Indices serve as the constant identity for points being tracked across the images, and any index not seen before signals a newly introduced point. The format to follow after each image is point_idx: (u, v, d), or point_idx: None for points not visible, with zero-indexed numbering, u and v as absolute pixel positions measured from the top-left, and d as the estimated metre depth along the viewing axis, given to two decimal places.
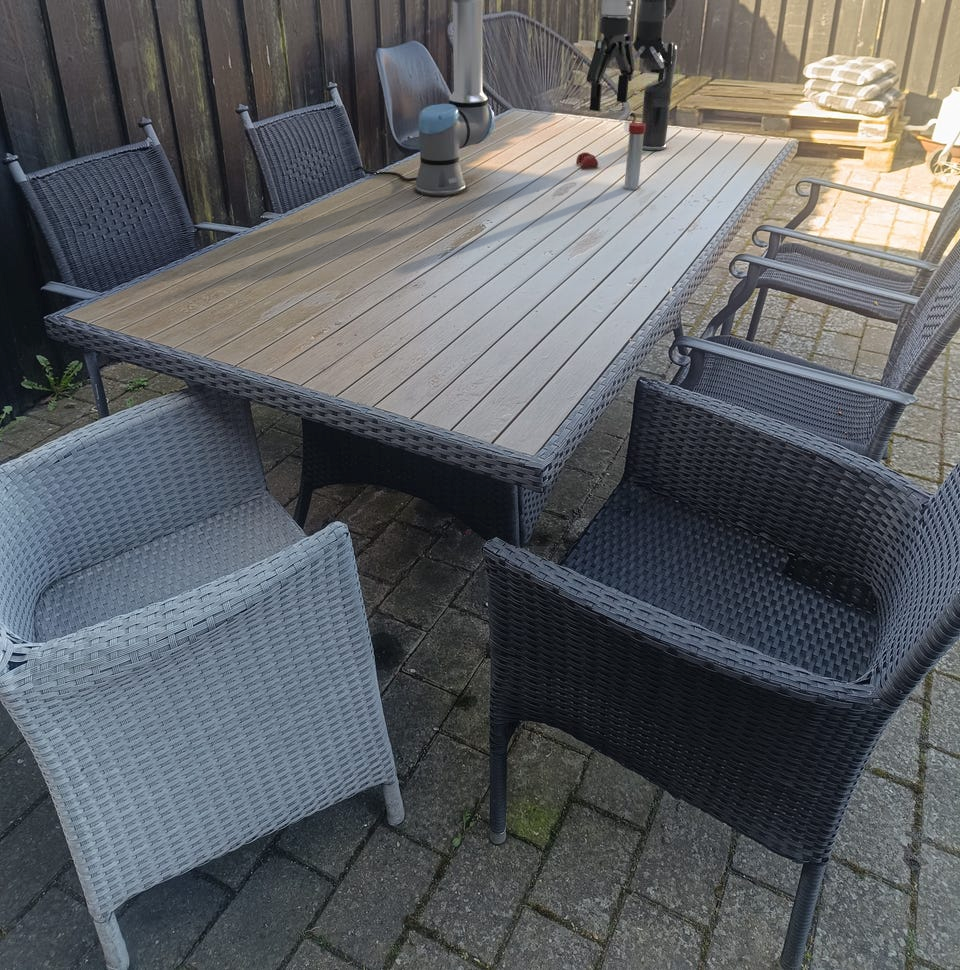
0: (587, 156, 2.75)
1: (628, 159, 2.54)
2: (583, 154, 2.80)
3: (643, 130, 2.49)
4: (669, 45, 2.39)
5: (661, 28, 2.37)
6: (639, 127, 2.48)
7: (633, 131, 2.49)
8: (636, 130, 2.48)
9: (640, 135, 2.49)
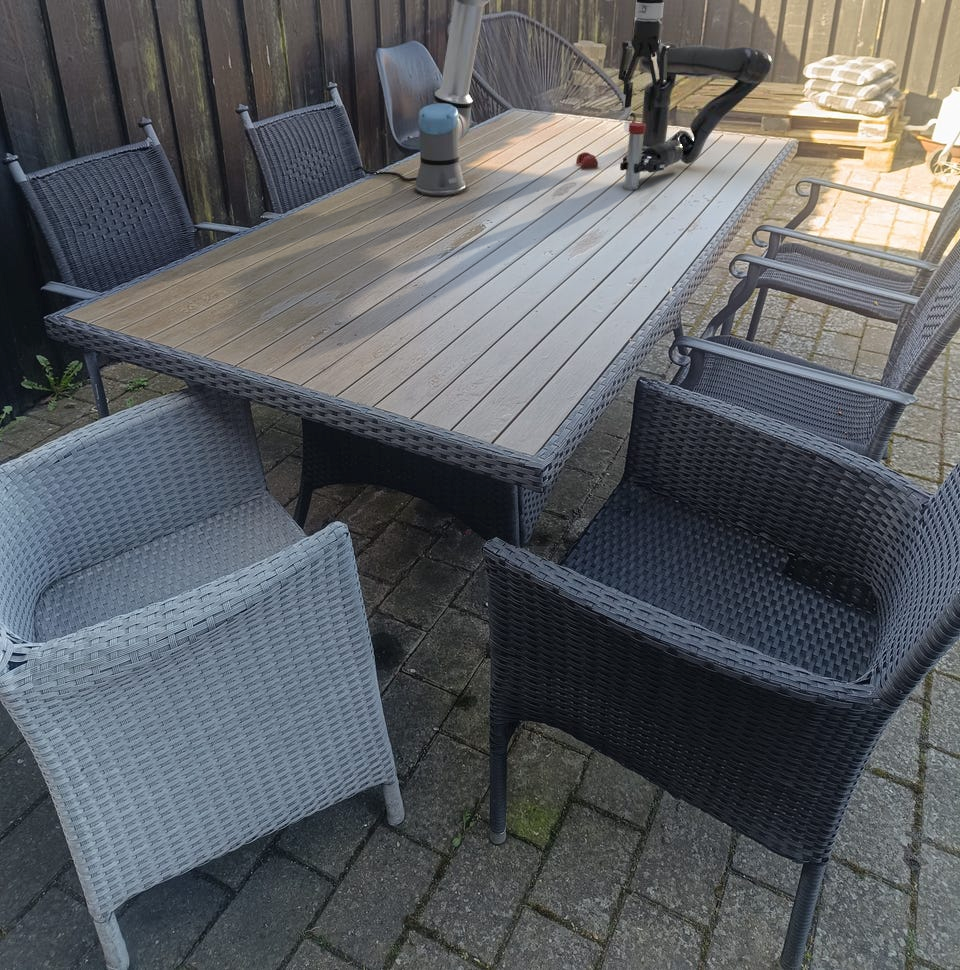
0: (587, 156, 2.75)
1: (628, 159, 2.54)
2: (583, 154, 2.80)
3: (643, 130, 2.49)
4: None
5: None
6: (639, 127, 2.48)
7: (633, 131, 2.49)
8: (636, 130, 2.48)
9: (640, 135, 2.49)
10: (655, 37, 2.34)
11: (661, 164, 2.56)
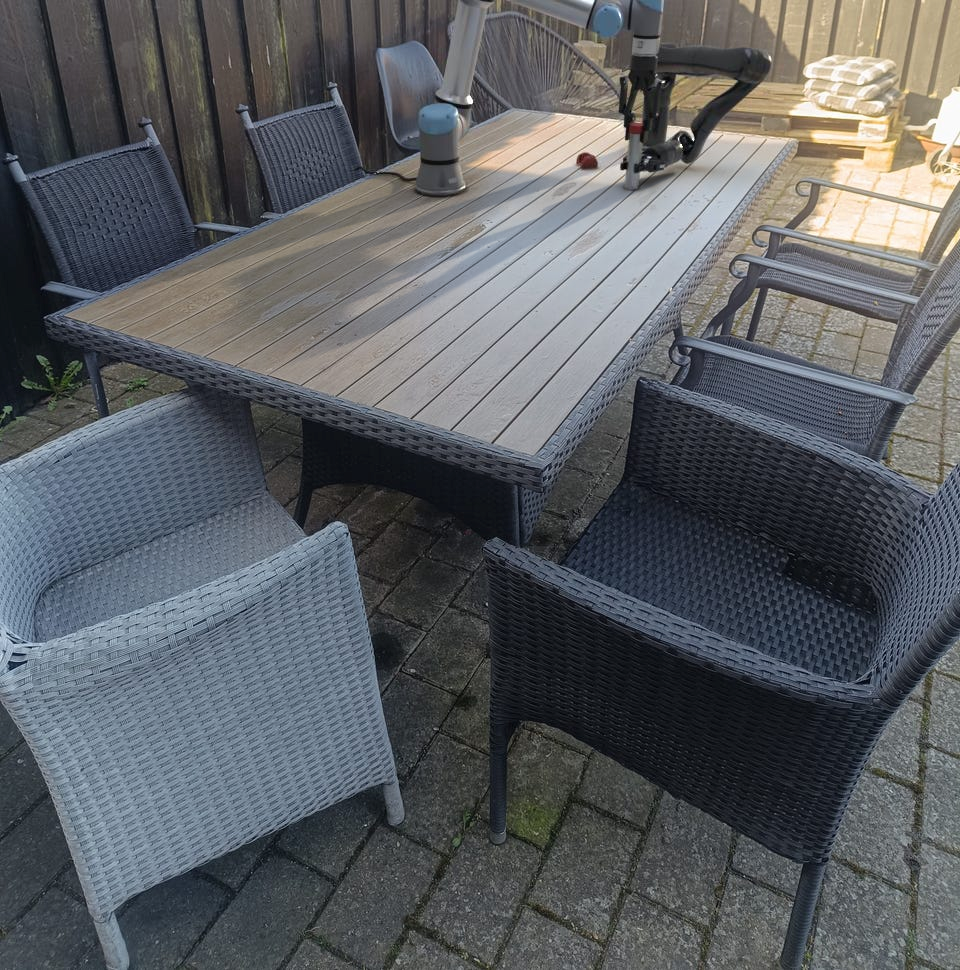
0: (587, 156, 2.75)
1: (628, 159, 2.54)
2: (583, 154, 2.80)
3: None
4: None
5: None
6: (639, 127, 2.48)
7: (633, 131, 2.49)
8: (636, 130, 2.48)
9: (640, 135, 2.49)
10: (651, 71, 2.39)
11: (661, 164, 2.56)
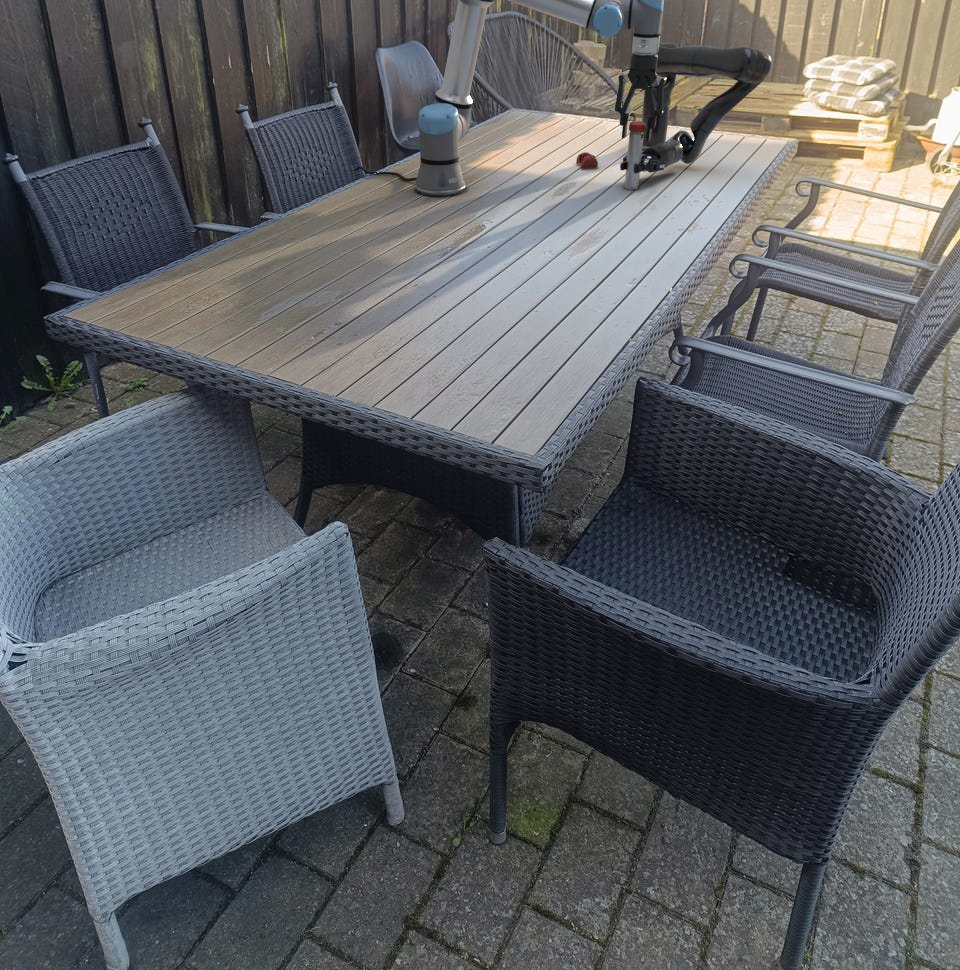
0: (587, 156, 2.75)
1: (628, 159, 2.54)
2: (583, 154, 2.80)
3: None
4: None
5: None
6: None
7: (644, 129, 2.49)
8: None
9: (640, 135, 2.49)
10: (653, 69, 2.39)
11: (661, 164, 2.56)
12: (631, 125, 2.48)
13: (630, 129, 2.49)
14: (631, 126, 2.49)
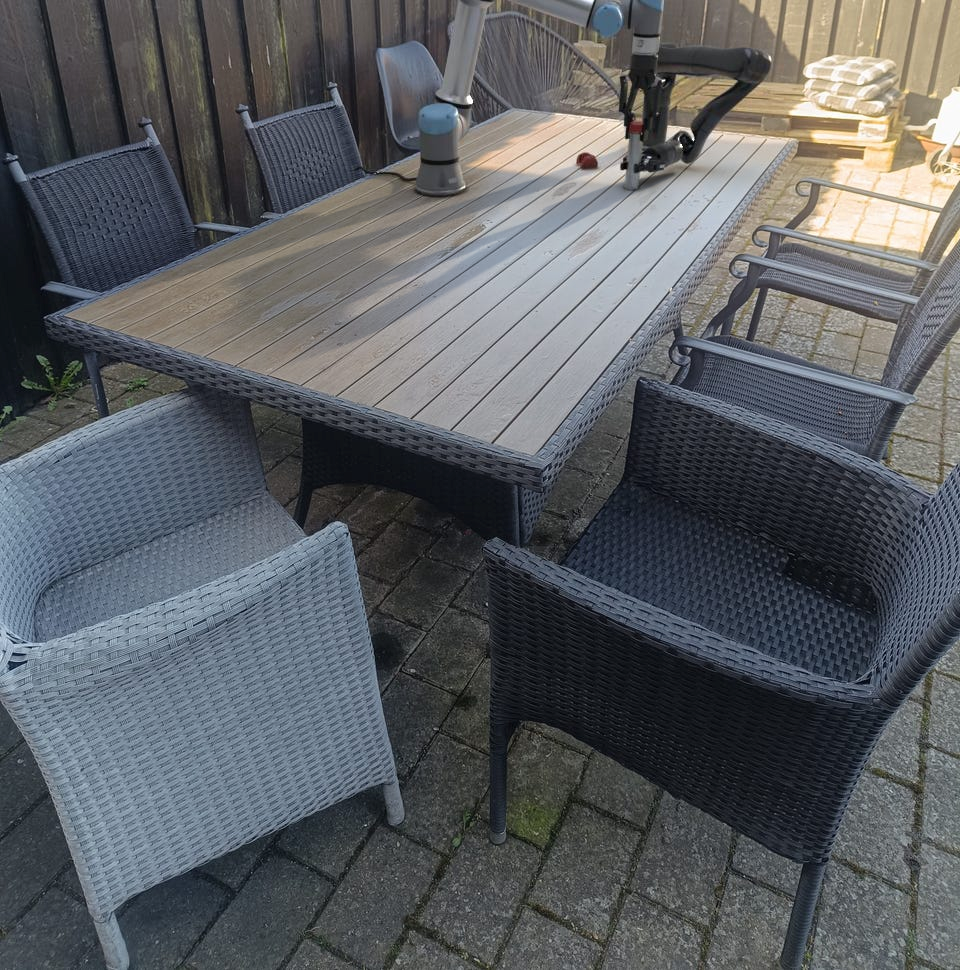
0: (587, 156, 2.75)
1: (628, 159, 2.54)
2: (583, 154, 2.80)
3: None
4: None
5: None
6: None
7: None
8: None
9: (640, 135, 2.49)
10: (651, 70, 2.39)
11: (661, 164, 2.56)
12: (631, 125, 2.48)
13: (630, 129, 2.49)
14: (631, 126, 2.49)
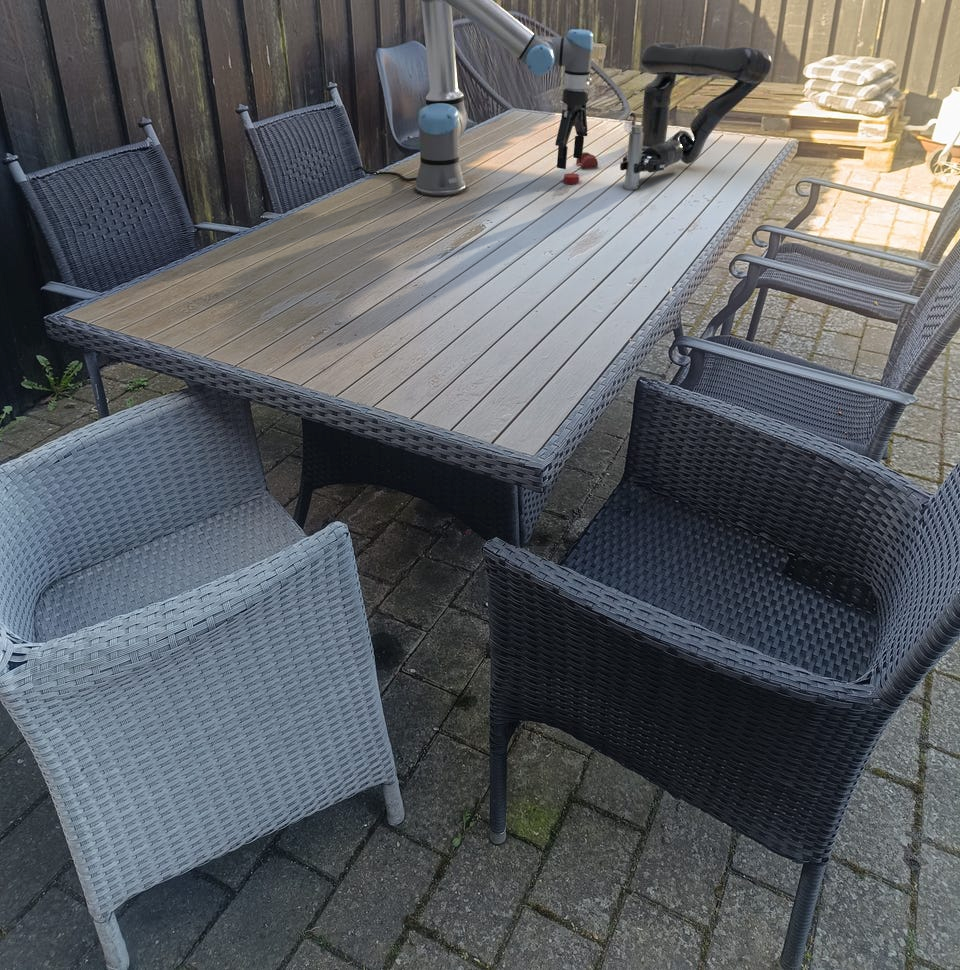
0: (587, 156, 2.75)
1: (628, 159, 2.54)
2: (583, 154, 2.80)
3: None
4: None
5: None
6: None
7: None
8: None
9: (640, 135, 2.49)
10: None
11: (661, 164, 2.56)
12: (576, 178, 2.63)
13: (575, 182, 2.63)
14: (576, 179, 2.63)
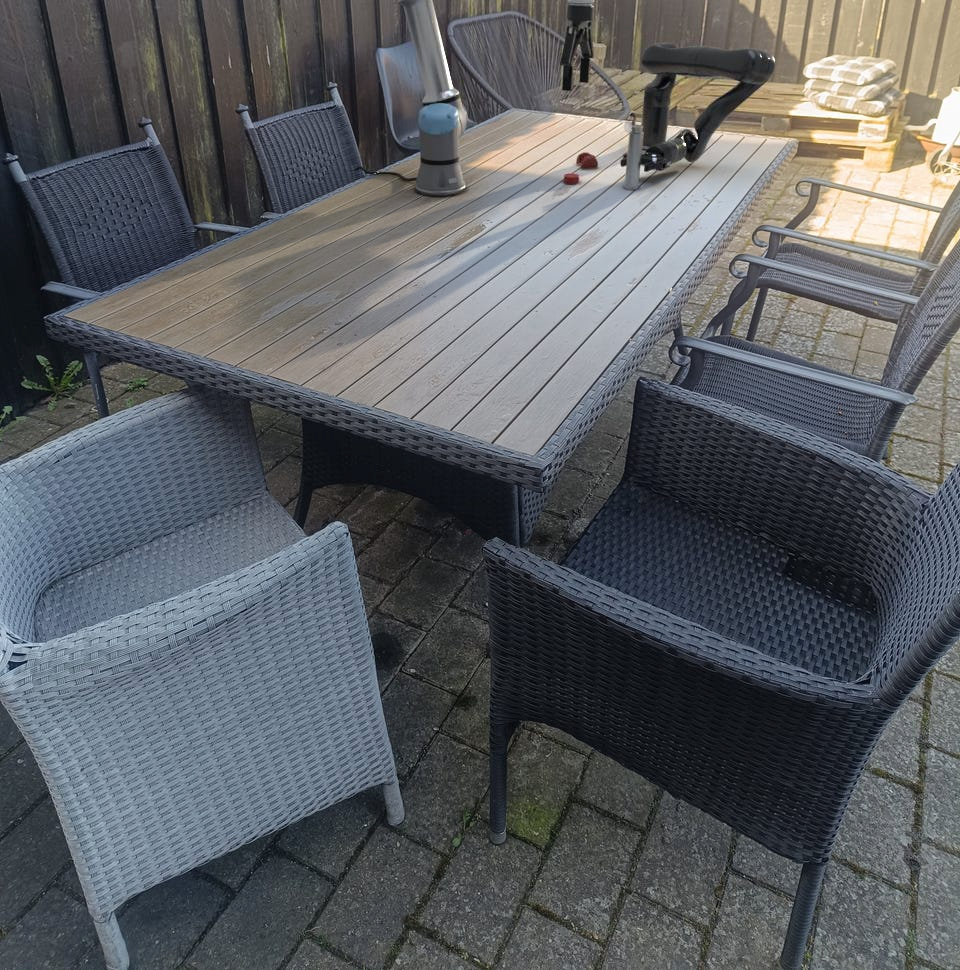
0: (587, 156, 2.75)
1: (628, 159, 2.54)
2: (583, 154, 2.80)
3: None
4: None
5: None
6: None
7: None
8: None
9: (640, 135, 2.49)
10: None
11: (668, 161, 2.58)
12: (576, 178, 2.63)
13: (575, 182, 2.63)
14: (576, 179, 2.63)
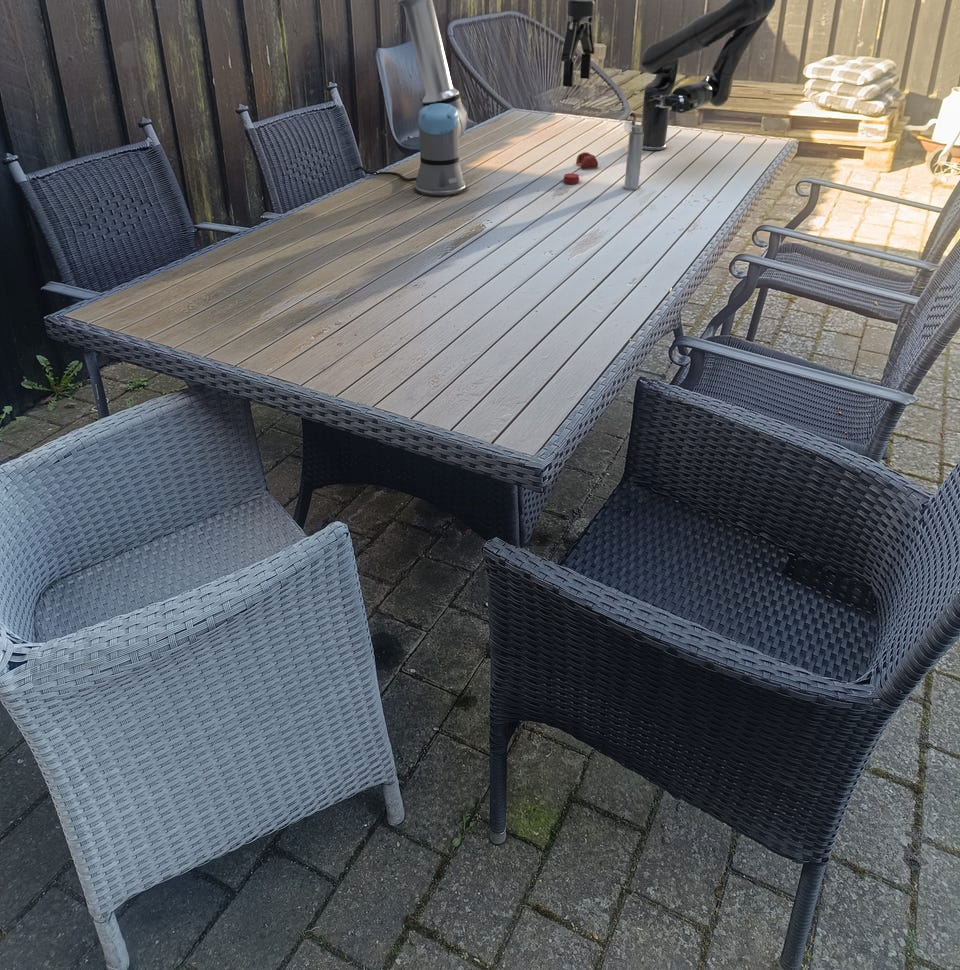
0: (587, 156, 2.75)
1: (628, 159, 2.54)
2: (583, 154, 2.80)
3: None
4: None
5: None
6: None
7: None
8: None
9: (640, 135, 2.49)
10: None
11: (695, 102, 2.56)
12: (576, 178, 2.63)
13: (575, 182, 2.63)
14: (576, 179, 2.63)
